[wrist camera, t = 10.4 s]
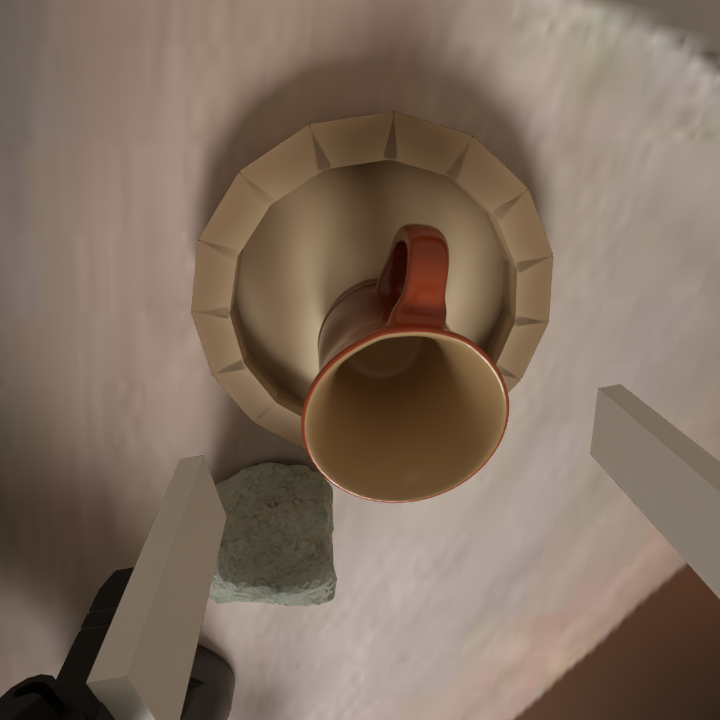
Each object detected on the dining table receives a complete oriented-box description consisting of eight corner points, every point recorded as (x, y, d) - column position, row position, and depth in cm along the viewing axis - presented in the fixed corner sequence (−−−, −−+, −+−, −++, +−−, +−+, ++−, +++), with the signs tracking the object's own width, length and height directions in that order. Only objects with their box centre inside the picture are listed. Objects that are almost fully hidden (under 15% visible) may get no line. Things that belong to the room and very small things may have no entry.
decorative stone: (257, 410, 30) (151, 542, 24) (393, 495, 30) (317, 652, 24) (246, 473, 41) (169, 576, 35) (346, 537, 40) (285, 654, 34)
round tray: (252, 451, 32) (246, 478, 30) (156, 148, 23) (136, 150, 20) (524, 408, 32) (541, 431, 30) (538, 90, 23) (564, 85, 21)
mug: (433, 393, 30) (482, 506, 21) (303, 385, 29) (295, 501, 20) (473, 210, 25) (563, 254, 16) (316, 192, 24) (314, 227, 15)
